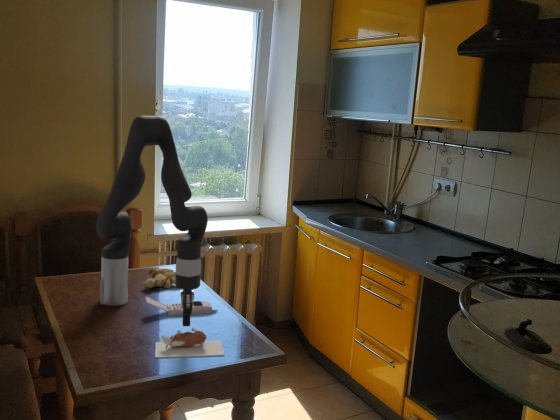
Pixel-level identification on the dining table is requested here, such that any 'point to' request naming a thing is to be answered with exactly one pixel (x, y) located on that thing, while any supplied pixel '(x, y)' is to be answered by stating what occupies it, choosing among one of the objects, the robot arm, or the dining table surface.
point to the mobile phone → (176, 309)
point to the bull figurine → (185, 339)
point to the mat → (189, 350)
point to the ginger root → (160, 278)
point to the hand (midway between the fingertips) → (186, 325)
